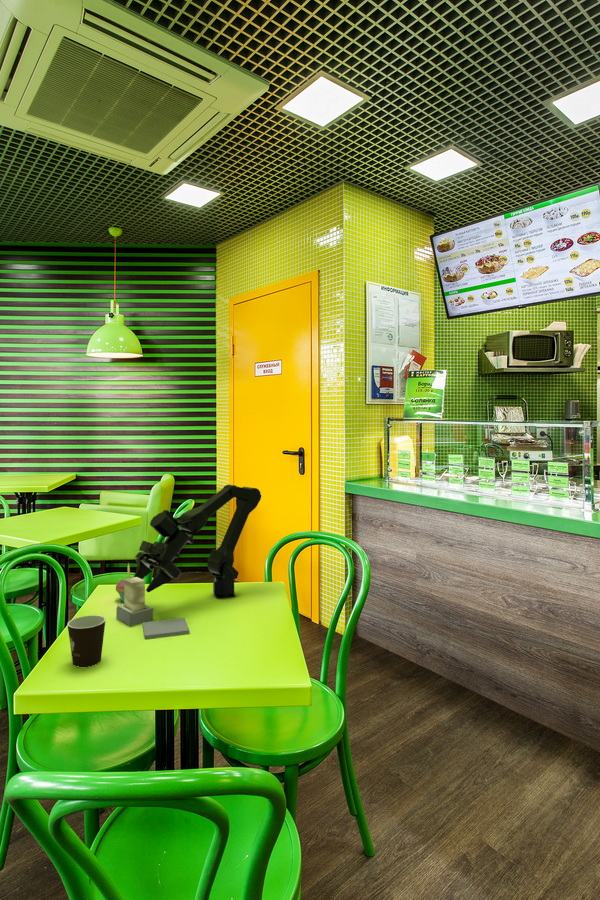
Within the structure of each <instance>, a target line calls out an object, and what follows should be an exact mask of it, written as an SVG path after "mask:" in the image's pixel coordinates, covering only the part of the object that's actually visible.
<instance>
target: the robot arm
mask: <svg viewBox="0 0 600 900" xmlns="http://www.w3.org/2000/svg"><path fill="white" fill-rule="evenodd" d="M233 498H235V511H234V513H233V516H232V517H231V520H230V522H229V525H228V527H227V530H226V532H225V534H224V537H223V539H222V540H221V541H222V542H221V544H220V546H219V547H218V548H216V549H213V548H212V549H211V551H210V554H209V557H208V558H207V559H206V560H207V565H206V566H207V568H208V571H209V572H210V576H211V577H214V580H213V581H212V593H213V596H214V597H215V598H216V599H225V598H234V597H236V594H235V580H236V579H238V577H239V571H238V570H237V569H236V568H234V566H233V565H234V562H235V556H234V553H235V549H236V546H237V544H238V542H239V539H240V537H241V534H242V532H243V529H244V527H245V525H246V522H247V520H248V518H249V516H250V513H252V512H253V511H254V510H255V509H256V508H257V506H258V505H259V503H260V501H261V500H262V494H261V490H260V489H258V488H257V487H251V486H250V487H249V486H243V487H241V486H237V485H235V484H226V485H224V486H223V488H221V489H220V490H218V492H216V493H215V494H214V495H213V496H211V497H210V498H208V499H207V500H206V501H205V502H203V503H202V504H201V505H200V506H198V507H195V508H192V509H189V510H186V511H185V512H183V513H182V514H181V515H180V516H178V517H174V516H173V515H172V514H171V512H170V511H169V510H167V509H164V510H162V511H161V512H160V513H157V514H156V515H154V516H153V517H152V519H151V520H150V522H149V525H150V527H151V528H152V529H154V531H156V532H157V533H158V534H159V536H161V537H162V538H166V539H165V540H164V541H163V542H161V541H154V542H148V541H146V540H142V541H141V544H140V546H139V549H138V551H139V552H138V553H137V554H136V555H135V557H134V558H135V562H136V566H137V567H136V570H135V572H134V575H133V577H132V578H134V577H138V578H140V579H143V580H144V578H146V577H147V576H148V575H149V574H151V573H152V572H153V571H152V570H154V569H155V568H156V570H155V572H156V573H155V575H154V577H153V578H152V580H151V581H150V583H149V584H148V586H147V587H146V588H145V592H147V593H151V592H152V591H154V590H156V589H157V588H159V587H161V586H163V585H165V584H167V583H169V582H171V581H174V580H178V579H179V578H180V576H181V573H182V572H181V569H180V568H179V567H177V566H176V565H175V564H174V562H173V561H174V560H175V558H176V559H178V558H179V557H180V556H181V555H180V554H179V553H180V552H181V550H182V549H183V548H184V546H186V544H187V543H188V544H193V545H194V543H195V541H194V534H190V533H189V534H188V532H192V533H198V532H200V531H201V530H202V529H203V528H204V527H205V525H206V524H207V522H208V520H209V519H210V518H211V516H212V515H213V514H215V513H216V512H218V510H220V509H221V508H223V506H225V505H226V504H228V503H229V502H230V501H231V500H232V499H233ZM187 531H188V532H187Z"/></svg>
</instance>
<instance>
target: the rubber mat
mask: <svg viewBox="0 0 600 900" xmlns="http://www.w3.org/2000/svg"><path fill="white" fill-rule="evenodd" d="M142 629H143V636H144V637H143V638H144V640H148V639H149V640H150V639H156V638H158V637H159V638H166V637H172V636H173V637H175V636H181V635H189V634H190V628H189V625H188V623H187V620H186V617H179V618H170V619H163V620H162V619H161V620H155V621H154V620H152V621H148V622H143V623H142Z"/></svg>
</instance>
